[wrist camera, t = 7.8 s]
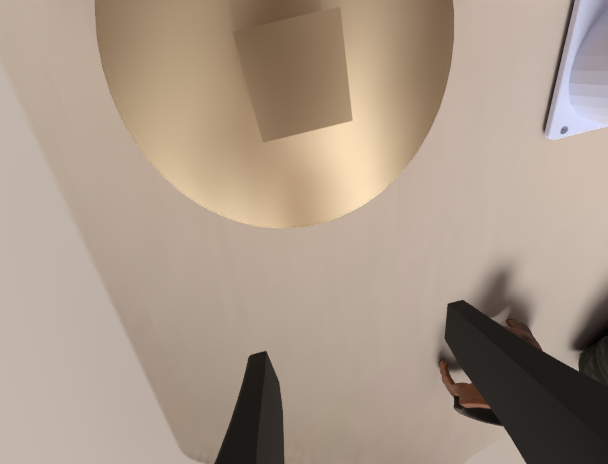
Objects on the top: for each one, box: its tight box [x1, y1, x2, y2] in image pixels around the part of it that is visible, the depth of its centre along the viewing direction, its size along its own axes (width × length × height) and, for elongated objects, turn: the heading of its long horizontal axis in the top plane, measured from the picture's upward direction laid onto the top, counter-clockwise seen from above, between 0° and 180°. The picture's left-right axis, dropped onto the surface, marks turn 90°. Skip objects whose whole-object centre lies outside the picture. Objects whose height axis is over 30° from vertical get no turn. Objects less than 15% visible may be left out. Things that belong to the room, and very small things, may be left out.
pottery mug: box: [439, 319, 542, 426], centre depth 28 cm, size 12×9×8 cm
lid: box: [95, 0, 454, 228], centre depth 10 cm, size 12×12×3 cm
